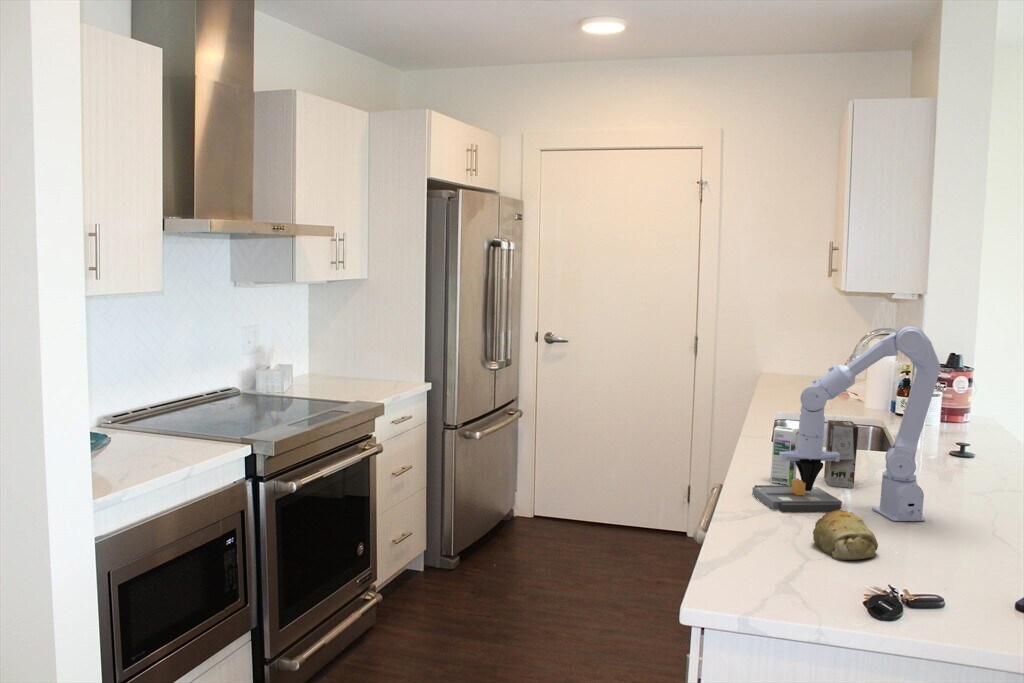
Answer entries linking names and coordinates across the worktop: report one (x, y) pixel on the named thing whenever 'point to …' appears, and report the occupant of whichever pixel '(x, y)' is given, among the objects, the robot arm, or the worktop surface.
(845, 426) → the coffee box
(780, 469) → the syrup box
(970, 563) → the worktop surface
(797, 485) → the knob
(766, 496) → the panel
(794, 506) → the dark grey flat bars
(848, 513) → the pastry
